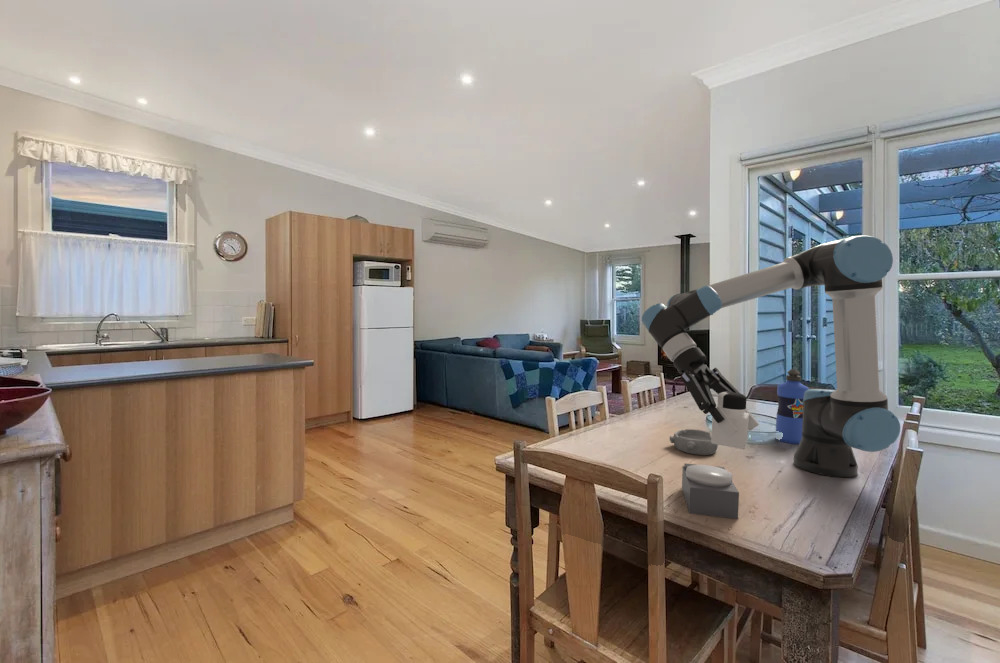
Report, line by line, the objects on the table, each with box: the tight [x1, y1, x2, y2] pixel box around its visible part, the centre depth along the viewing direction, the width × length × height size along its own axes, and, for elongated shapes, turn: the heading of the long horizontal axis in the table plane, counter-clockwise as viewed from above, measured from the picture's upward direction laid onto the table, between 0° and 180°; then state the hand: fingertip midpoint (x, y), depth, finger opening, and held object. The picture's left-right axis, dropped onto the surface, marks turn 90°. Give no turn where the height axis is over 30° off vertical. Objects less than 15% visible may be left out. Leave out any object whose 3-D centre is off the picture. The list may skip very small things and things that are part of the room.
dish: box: [669, 428, 719, 456], centre depth 148 cm, size 14×14×5 cm
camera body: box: [681, 463, 740, 520], centre depth 108 cm, size 10×14×8 cm
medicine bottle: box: [711, 392, 749, 450], centre depth 107 cm, size 7×7×12 cm
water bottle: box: [775, 368, 810, 445], centre depth 158 cm, size 9×9×25 cm
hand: (743, 430), depth 105 cm, fingers closed on medicine bottle, 9 cm apart
